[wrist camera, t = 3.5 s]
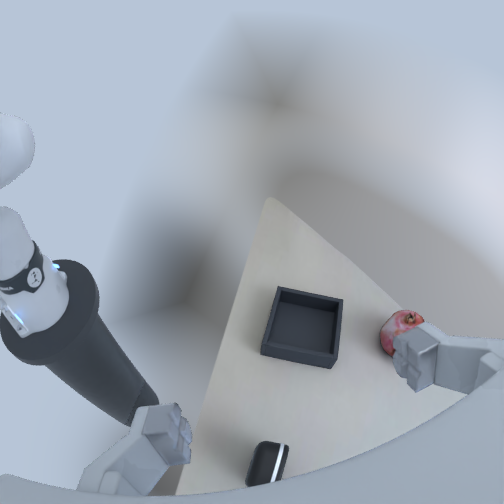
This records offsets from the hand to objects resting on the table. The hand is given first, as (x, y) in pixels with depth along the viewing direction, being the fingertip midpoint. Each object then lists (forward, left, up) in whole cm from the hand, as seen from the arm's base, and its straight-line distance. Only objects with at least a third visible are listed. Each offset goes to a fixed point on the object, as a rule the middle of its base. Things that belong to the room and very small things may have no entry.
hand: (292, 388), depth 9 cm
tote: (+2, +25, -36) cm, 44 cm away
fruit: (+21, +26, -36) cm, 50 cm away
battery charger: (+1, -1, -36) cm, 36 cm away
